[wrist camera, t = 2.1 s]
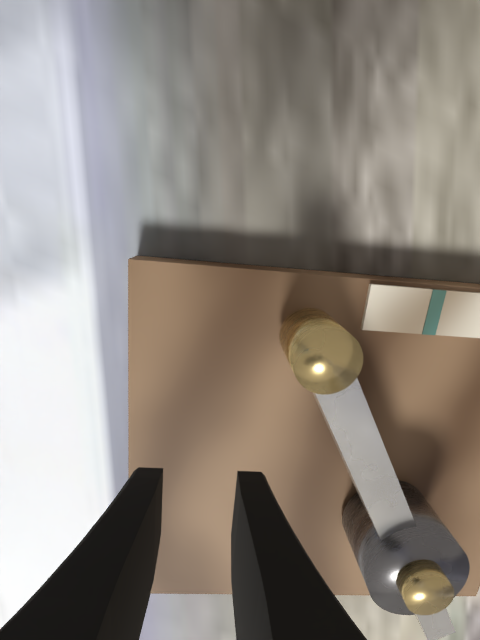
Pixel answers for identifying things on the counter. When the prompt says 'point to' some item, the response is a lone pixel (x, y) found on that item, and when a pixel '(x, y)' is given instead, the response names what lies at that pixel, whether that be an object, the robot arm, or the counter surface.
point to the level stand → (294, 406)
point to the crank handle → (376, 483)
